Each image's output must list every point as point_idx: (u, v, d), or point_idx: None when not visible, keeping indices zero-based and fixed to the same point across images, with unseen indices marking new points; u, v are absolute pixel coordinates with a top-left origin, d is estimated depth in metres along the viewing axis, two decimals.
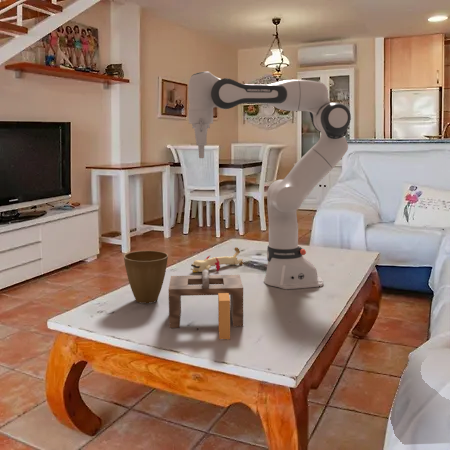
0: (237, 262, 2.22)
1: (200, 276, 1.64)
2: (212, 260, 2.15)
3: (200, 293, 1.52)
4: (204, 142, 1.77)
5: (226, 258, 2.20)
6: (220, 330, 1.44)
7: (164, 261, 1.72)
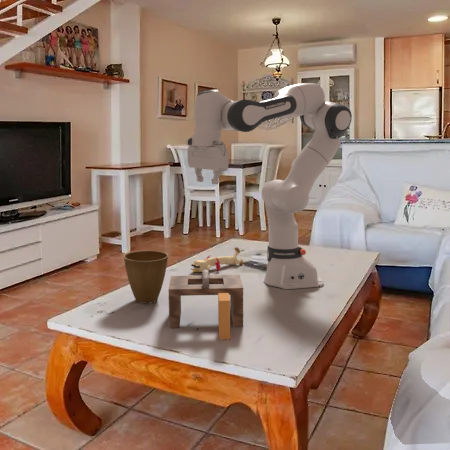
0: (237, 262, 2.22)
1: (200, 276, 1.64)
2: (212, 260, 2.15)
3: (200, 293, 1.52)
4: (227, 167, 1.63)
5: (226, 258, 2.20)
6: (220, 330, 1.44)
7: (164, 261, 1.72)
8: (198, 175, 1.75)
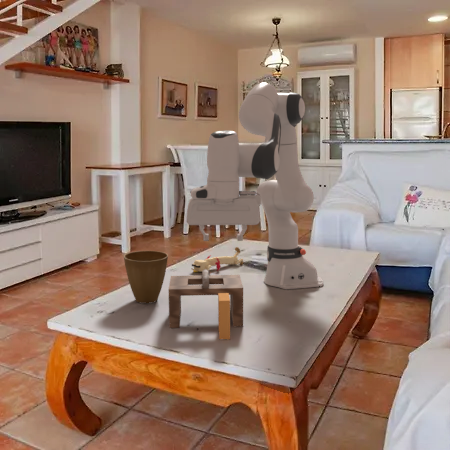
0: (238, 262, 2.22)
1: (200, 276, 1.64)
2: (213, 259, 2.15)
3: (200, 293, 1.52)
4: None
5: (227, 258, 2.20)
6: (220, 330, 1.44)
7: (164, 261, 1.72)
8: (205, 233, 1.42)
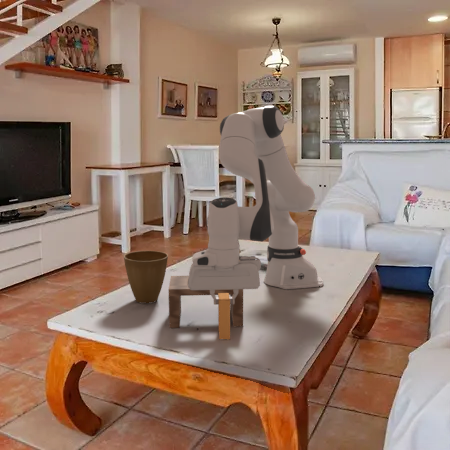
0: None
1: None
2: None
3: (200, 293, 1.52)
4: None
5: None
6: (220, 330, 1.44)
7: (164, 261, 1.72)
8: (215, 297, 1.45)
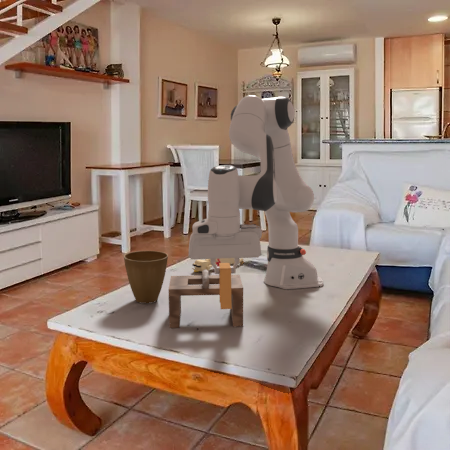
0: None
1: (200, 276, 1.64)
2: None
3: (200, 293, 1.52)
4: None
5: (227, 258, 2.20)
6: (221, 299, 1.42)
7: (164, 261, 1.72)
8: (216, 266, 1.44)
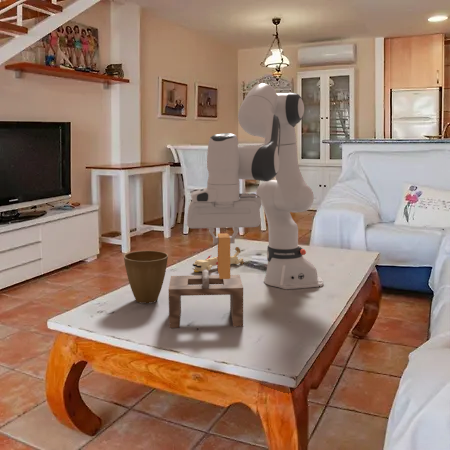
0: (238, 262, 2.23)
1: (200, 276, 1.64)
2: (213, 259, 2.16)
3: (200, 293, 1.52)
4: None
5: None
6: (220, 269, 1.41)
7: (164, 261, 1.72)
8: (214, 236, 1.42)
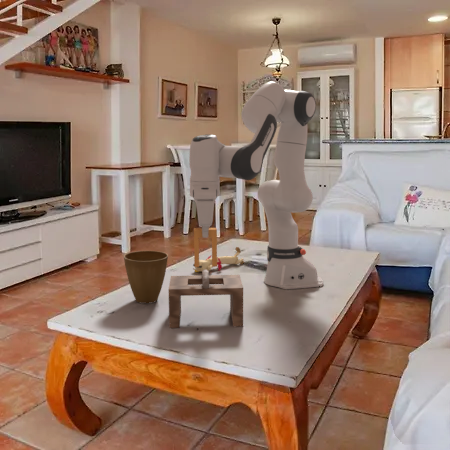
0: (238, 262, 2.23)
1: (200, 276, 1.64)
2: None
3: (200, 293, 1.52)
4: None
5: (227, 258, 2.20)
6: (216, 257, 1.56)
7: (164, 261, 1.72)
8: None
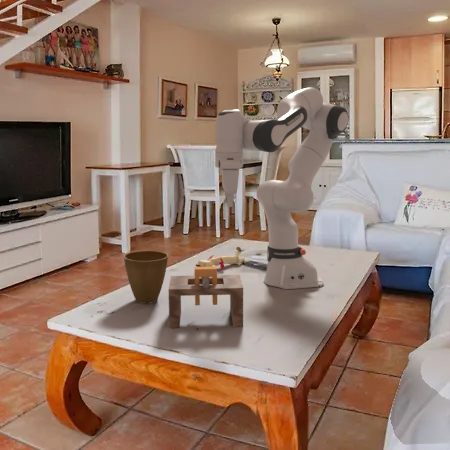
0: (239, 261, 2.23)
1: None
2: (216, 259, 2.16)
3: (200, 293, 1.52)
4: None
5: (229, 257, 2.21)
6: None
7: (164, 261, 1.72)
8: None
